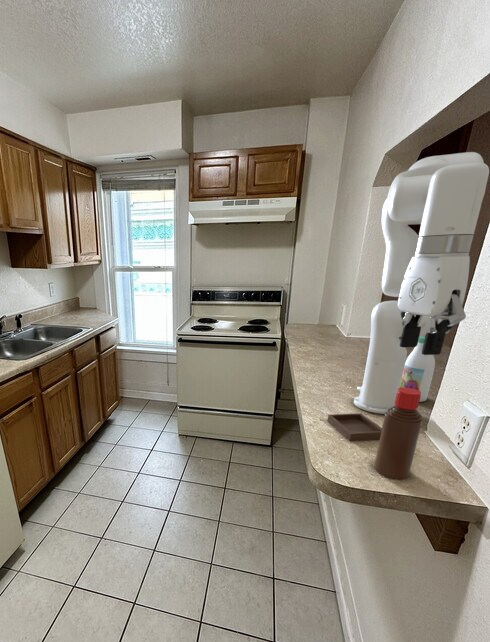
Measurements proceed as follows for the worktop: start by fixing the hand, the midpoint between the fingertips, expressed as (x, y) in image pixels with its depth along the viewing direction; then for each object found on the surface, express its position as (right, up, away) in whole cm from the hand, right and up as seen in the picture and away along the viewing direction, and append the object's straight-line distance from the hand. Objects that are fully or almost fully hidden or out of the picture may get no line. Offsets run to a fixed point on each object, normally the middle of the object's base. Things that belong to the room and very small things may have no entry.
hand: (419, 349), depth 67 cm
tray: (+3, -19, +27) cm, 33 cm away
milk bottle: (+31, -11, +47) cm, 57 cm away
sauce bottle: (+1, -25, +9) cm, 27 cm away
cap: (0, -11, +4) cm, 12 cm away
